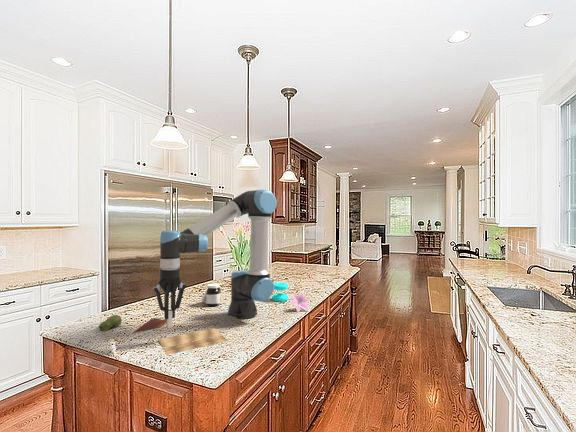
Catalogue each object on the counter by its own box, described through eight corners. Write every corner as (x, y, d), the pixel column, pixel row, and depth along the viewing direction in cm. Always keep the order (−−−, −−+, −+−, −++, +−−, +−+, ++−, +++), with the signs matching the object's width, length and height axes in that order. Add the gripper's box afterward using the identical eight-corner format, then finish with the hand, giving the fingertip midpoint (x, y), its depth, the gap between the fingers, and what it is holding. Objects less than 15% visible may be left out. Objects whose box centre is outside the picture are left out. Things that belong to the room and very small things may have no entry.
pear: (123, 314, 152) (103, 324, 143) (124, 324, 153) (105, 335, 144) (115, 312, 155) (95, 322, 146) (117, 322, 156) (97, 332, 147)
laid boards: (222, 338, 138) (222, 335, 138) (228, 343, 132) (228, 340, 132) (162, 351, 125) (162, 347, 125) (167, 357, 119) (167, 354, 119)
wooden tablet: (152, 320, 162) (152, 317, 162) (171, 320, 162) (171, 317, 162) (121, 341, 136) (121, 337, 136) (144, 341, 135) (144, 337, 135)
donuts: (286, 281, 205) (290, 285, 195) (286, 297, 205) (290, 301, 195) (270, 282, 202) (273, 285, 193) (270, 298, 203) (273, 302, 193)
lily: (285, 313, 175) (290, 300, 171) (287, 300, 185) (292, 287, 182) (306, 320, 175) (312, 307, 172) (306, 306, 186) (312, 293, 182)
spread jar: (218, 307, 183) (218, 286, 183) (198, 307, 183) (198, 286, 183) (222, 301, 195) (222, 282, 195) (204, 301, 195) (204, 282, 195)
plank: (162, 350, 125) (162, 347, 125) (158, 342, 132) (158, 339, 132) (221, 337, 138) (221, 334, 138) (214, 330, 145) (214, 327, 145)
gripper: (183, 266, 138) (183, 321, 138) (151, 268, 131) (150, 326, 131) (188, 268, 132) (188, 326, 132) (154, 271, 125) (154, 332, 125)
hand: (169, 326), depth 131 cm, fingers closed
